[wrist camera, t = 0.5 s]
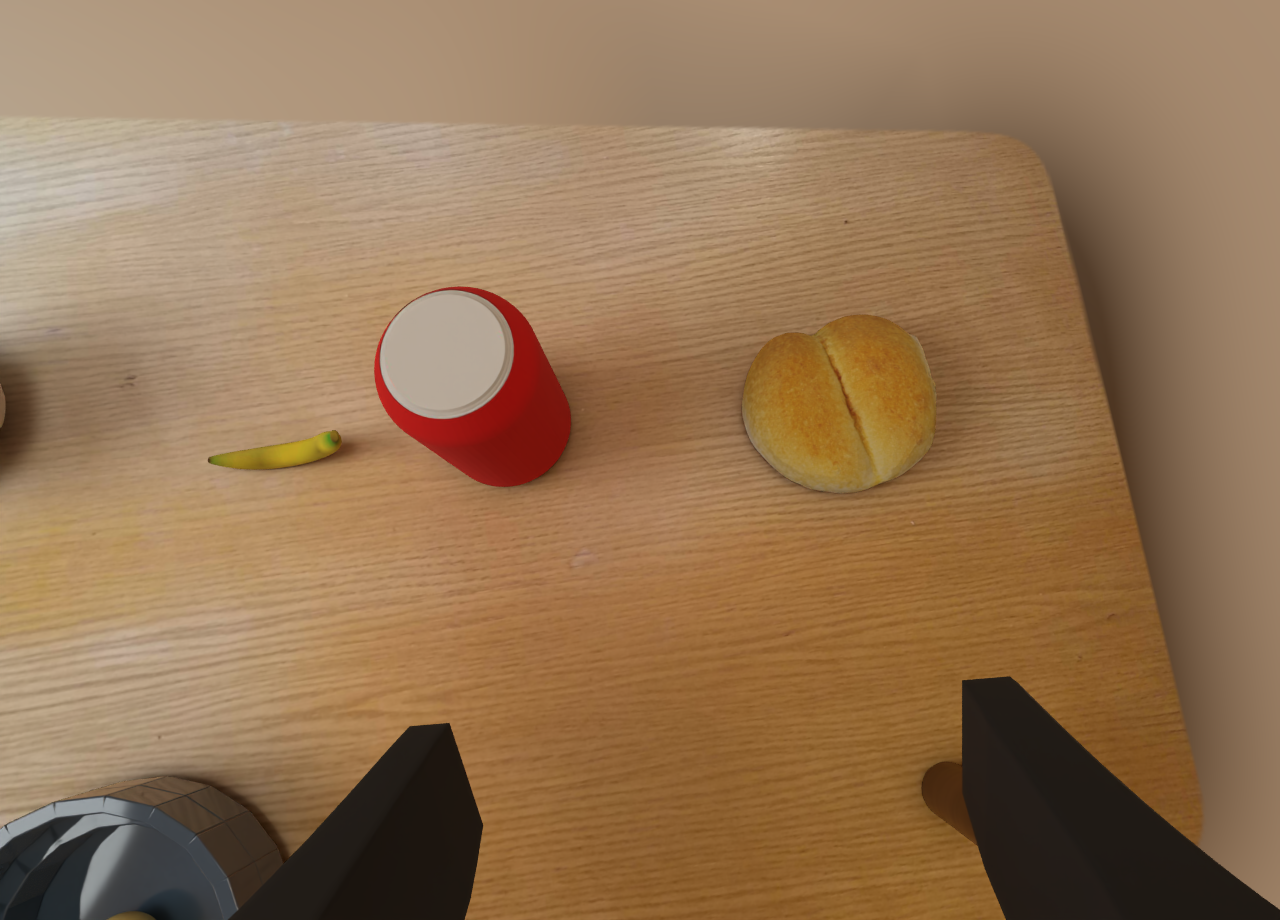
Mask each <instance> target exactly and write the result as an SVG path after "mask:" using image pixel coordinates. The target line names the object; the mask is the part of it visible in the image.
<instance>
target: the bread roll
mask: <svg viewBox="0 0 1280 920" xmlns="http://www.w3.org/2000/svg"><path fill="white" fill-rule="evenodd" d="M935 389H936V384H935V382H934V381H933V379H932V377H931V371H930V368H929V366H928V362H927V360H926V357H925V354H924V350H923V348H922V345H921V344H920V342H919V341H918V339H917V337H916V336H914V335H910V334H908V333H907V332H905V331H904V330H903V329H902V328H901V327H899V326H898V325H896V324H894V323H893V322H891V321H889V320H887V319H884V318H881V317H877V316H872V315H851V316H846V317H842V318H840V319H837V320H835V321H833V322H830V323H828V324H827V325H826V326H824V327H823V328H822V329H820V330H819V331H818V332H817V333H816V334H814V335H812V336H809V335H806V334H804V333H785V334H782V335H780V336H777V337H774V338H773V339H772V340H770V341H769V342H768V343H767V344H766V345H765V346H764V347H763V348H762V349H761V350H760V352H759V353H758V355H757V356H756V358H755V360H754V362H753V363H752V365H751V367H750V370H749V372H748V375H747V378H746V382H745V387H744V393H743V400H742V415H743V421H744V424H745V428H746V431H747V434H748V436H749V438H750V441H751V442H752V444H753V445H754V447H755V449H756V450H757V451H758V452H759V453H760V454H761V455H762V456H763V458H764V459H765V460H767V461H768V463H769V464H770V465H771V466H772V467H773V468H774V469H776V470H777V471H778V472H779V473H781V474H782V475H783V476H784V477H786V478H788V479H789V480H791V481H793V482H795V483H797V484H800V485H802V486H804V487H807V488H810V489H814V490H820V491H822V492H823V491H826V492H835V493H853V492H859V491H863V490H866V489H868V488H871V487H873V486H875V485H877V484H881V483H884V482H887V481H889V480H892V479H894V478H896V477H898V476H900V475H902V474H904V473H905V472H906V471H908V470H909V469H910V468H912V467H913V466H914V465H915V464H916V463H918V462H919V461H920V460H921V459H922V457H923V456H924V455H925V454H926V453H927V452H928V451H929V449H930V447H931V445H932V442H933V438H934V434H935V430H936V428H935V425H936V391H935Z"/></svg>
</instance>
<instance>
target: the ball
mask: <svg viewBox="0 0 1280 920" xmlns="http://www.w3.org/2000/svg"><path fill="white" fill-rule="evenodd" d="M108 920H156V919H155V918H154V917H152V916H151V915H149V914H146V913H143V912H138V911H129V912H124V913H120V914H117V915H115V916H113V917H111V918H109V919H108Z"/></svg>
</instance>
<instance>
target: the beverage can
mask: <svg viewBox="0 0 1280 920" xmlns="http://www.w3.org/2000/svg"><path fill="white" fill-rule="evenodd" d="M374 374H375V383H376V388H377V392H378V395H379V398H380V400H381V402H382V404H383V407H384V408H385V410H386V412H387V413H388V415H389V416H390V417H391V419H392V420H393V421H394V422H395V423H396V424H397V425H398V426H399V427H400V428H401V429H402V430H403V431H404V432H406V433H407V434H408V435H410V436H411V437H413V438H414V439H416V440H417V441H418V442H420V443H421V444H423V445H424V446H426V447H427V448H429V449H430V450H432V451H433V452H434V453H436V454H437V455H439V456H440V457H442V458H443V459H445V460H446V461H447V462H449V463H450V464H452V465H453V466H455V467H456V468H458V469H459V470H460V471H462V472H463V473H465V474H466V475H468V476H469V477H471V478H472V479H474V480H476V481H478V482H481V483H484V484H487V485H491V486H499V487H509V486H516V485H521V484H524V483H527V482H530V481H532V480H534V479H536V478H538V477H539V476H541V475H542V474H544V473H545V472H546V471H548V470H549V469H550V468H551V467H552V466H553V465H554V464H555V462H556V461H557V460H558V459H559V457H560V456H561V454H562V452H563V451H564V449H565V446H566V444H567V441H568V438H569V434H570V428H571V415H570V409H569V404H568V401H567V399H566V396H565V394H564V392H563V390H562V388H561V386H560V384H559V382H558V380H557V378H556V376H555V374H554V372H553V370H552V368H551V366H550V364H549V362H548V360H547V358H546V356H545V354H544V352H543V349H542V347H541V345H540V343H539V341H538V339H537V337H536V335H535V333H534V331H533V329H532V327H531V326H530V324H529V323H528V321H527V319H526V318H525V317H524V316H523V315H522V313H521V312H520V311H519V310H518V309H517V308H515V307H514V306H513V305H512V304H510V303H509V302H508V301H506V300H505V299H503V298H501V297H500V296H498V295H495V294H493V293H491V292H488V291H485V290H482V289H478V288H472V287H448V288H442V289H438V290H434V291H432V292H429V293H426V294H424V295H422V296H420V297H418V298H416V299H415V300H413V301H411V302H410V303H409V304H407V305H406V306H405V307H404V308H403V309H401V310H400V311H399V312H398V313H397V314H396V315H395V317H394V318H393V319H392V320H391V322H390V323H389V324H388V326H387V328H386V329H385V331H384V333H383V335H382V337H381V339H380V342H379V345H378V348H377V352H376V356H375V367H374Z"/></svg>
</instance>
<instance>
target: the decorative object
mask: <svg viewBox="0 0 1280 920" xmlns="http://www.w3.org/2000/svg"><path fill="white" fill-rule="evenodd" d="M5 410H6V403H5V396H4V392H3V389H2V386H1V384H0V428H1V427H2V425H3V422H4V418H5Z"/></svg>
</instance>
